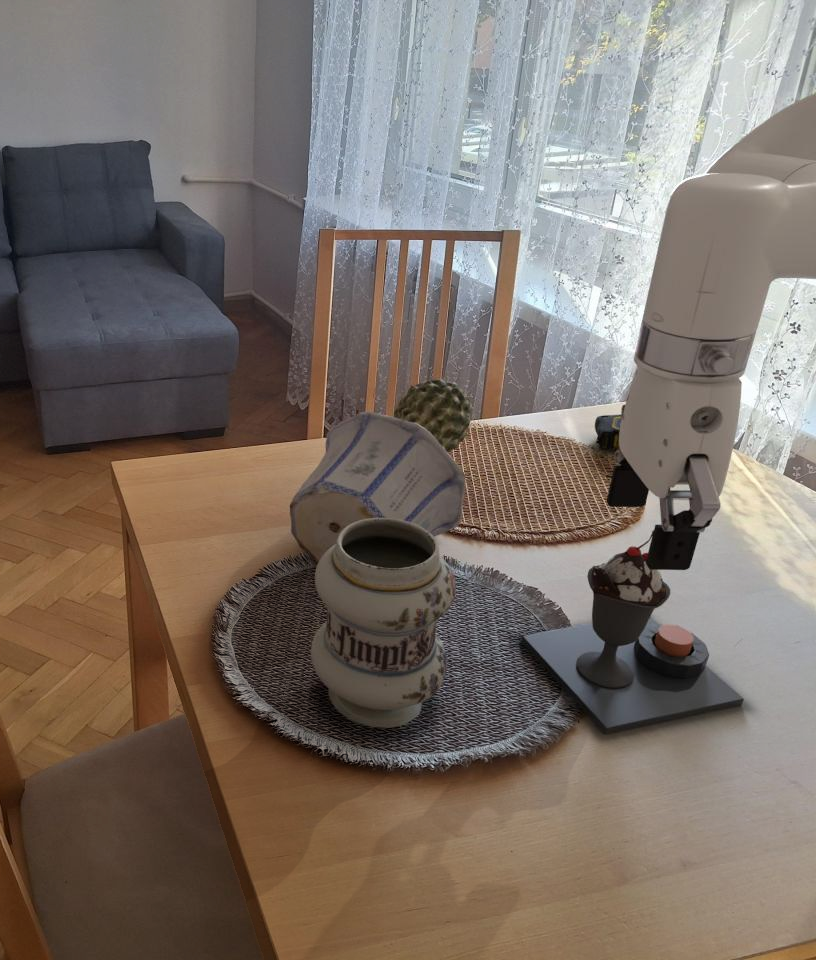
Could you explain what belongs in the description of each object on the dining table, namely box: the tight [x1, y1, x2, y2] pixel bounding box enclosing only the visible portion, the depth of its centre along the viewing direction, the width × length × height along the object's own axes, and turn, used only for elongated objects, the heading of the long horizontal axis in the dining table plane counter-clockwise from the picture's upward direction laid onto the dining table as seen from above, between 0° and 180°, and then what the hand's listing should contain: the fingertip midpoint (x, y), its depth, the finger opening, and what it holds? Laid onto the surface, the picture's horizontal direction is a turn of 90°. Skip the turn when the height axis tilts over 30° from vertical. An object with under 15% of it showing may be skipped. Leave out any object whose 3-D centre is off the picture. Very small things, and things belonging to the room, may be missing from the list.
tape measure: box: [594, 413, 621, 451], centre depth 123 cm, size 7×7×4 cm
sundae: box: [576, 529, 671, 688], centre depth 77 cm, size 7×7×15 cm
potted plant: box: [289, 378, 473, 564], centre depth 102 cm, size 18×18×30 cm
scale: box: [520, 617, 745, 736], centre depth 81 cm, size 14×13×3 cm
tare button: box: [654, 624, 694, 657], centre depth 81 cm, size 3×3×2 cm
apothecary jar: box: [310, 518, 457, 729], centre depth 76 cm, size 12×12×18 cm
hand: (644, 534), depth 74 cm, fingers open, 9 cm apart
